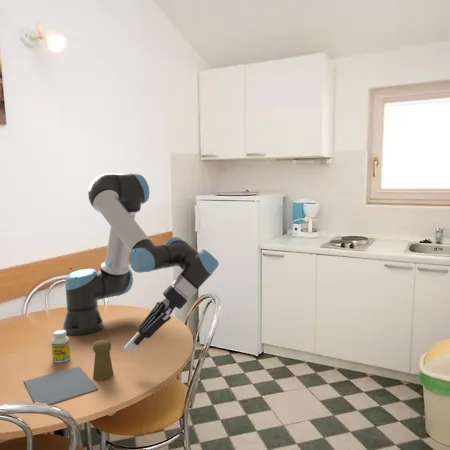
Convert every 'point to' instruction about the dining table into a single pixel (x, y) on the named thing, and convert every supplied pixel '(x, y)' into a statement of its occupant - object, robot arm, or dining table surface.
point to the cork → (102, 361)
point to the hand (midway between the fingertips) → (127, 350)
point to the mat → (60, 386)
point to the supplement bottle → (60, 347)
